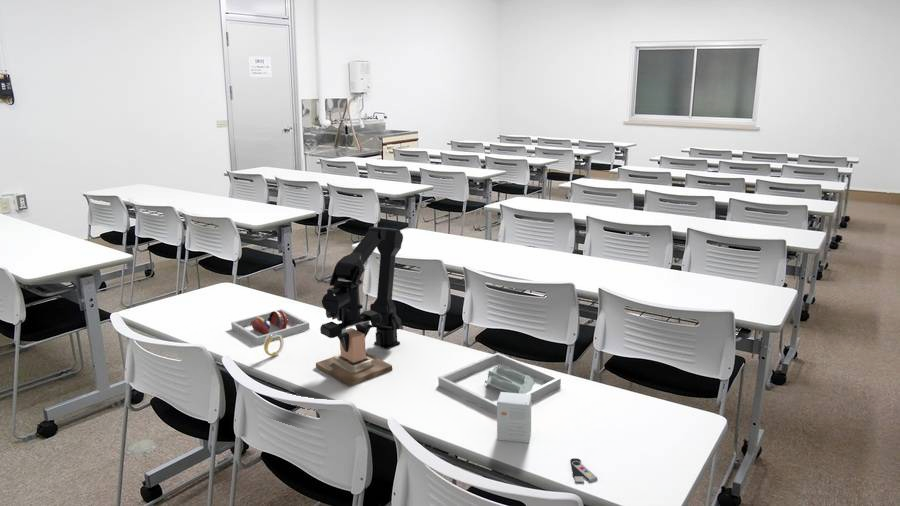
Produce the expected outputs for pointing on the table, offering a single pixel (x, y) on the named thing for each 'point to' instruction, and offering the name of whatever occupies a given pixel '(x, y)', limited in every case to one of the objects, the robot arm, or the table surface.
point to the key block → (354, 346)
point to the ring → (266, 343)
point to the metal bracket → (510, 380)
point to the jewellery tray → (258, 340)
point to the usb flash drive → (581, 471)
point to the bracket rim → (447, 379)
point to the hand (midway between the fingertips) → (352, 349)
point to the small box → (514, 417)
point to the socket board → (353, 369)
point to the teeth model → (275, 319)
